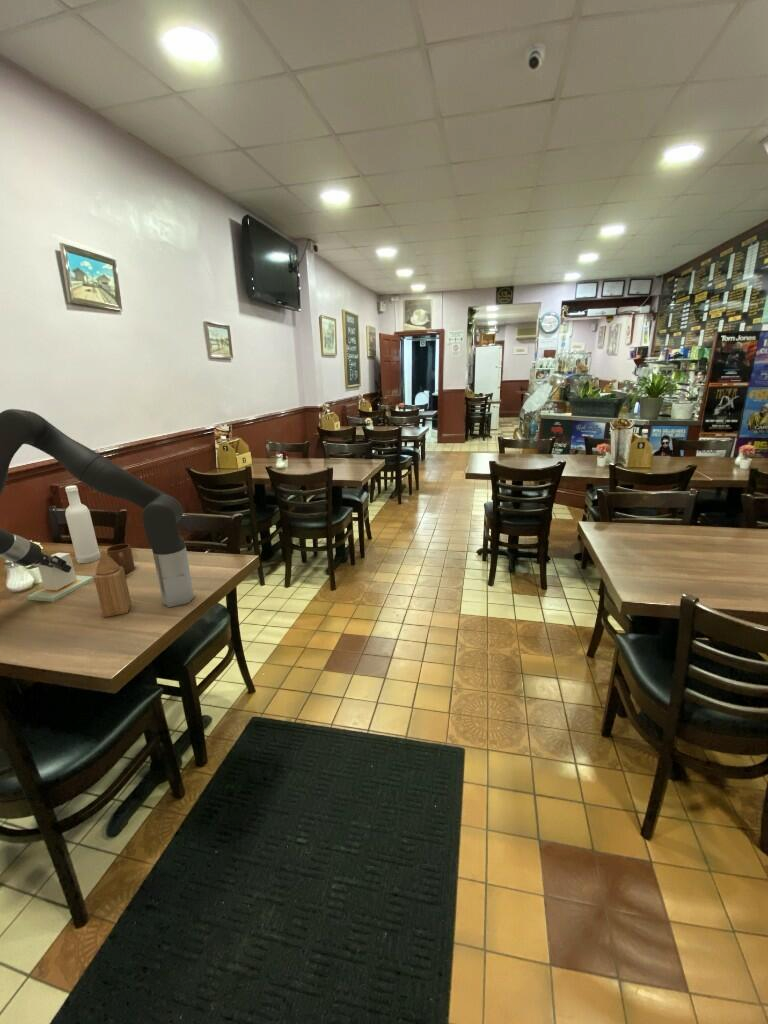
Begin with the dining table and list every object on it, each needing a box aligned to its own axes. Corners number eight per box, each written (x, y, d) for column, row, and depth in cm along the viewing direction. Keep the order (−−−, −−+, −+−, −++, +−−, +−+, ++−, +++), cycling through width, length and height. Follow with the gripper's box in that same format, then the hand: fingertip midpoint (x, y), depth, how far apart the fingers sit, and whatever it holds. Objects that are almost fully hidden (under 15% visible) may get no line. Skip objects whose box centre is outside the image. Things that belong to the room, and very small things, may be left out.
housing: (65, 579, 150) (58, 552, 147) (76, 580, 149) (69, 553, 146) (44, 589, 143) (36, 561, 140) (56, 590, 142) (48, 562, 139)
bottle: (104, 558, 172) (87, 485, 163) (83, 565, 166) (64, 490, 157) (94, 554, 176) (77, 483, 167) (73, 561, 170) (54, 487, 161)
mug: (138, 575, 156) (133, 551, 153) (114, 581, 152) (108, 556, 149) (133, 564, 165) (128, 542, 162) (110, 570, 161) (105, 546, 158)
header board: (71, 577, 155) (67, 565, 154) (94, 579, 153) (91, 566, 152) (27, 599, 141) (23, 585, 139) (52, 601, 139) (48, 587, 137)
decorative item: (108, 607, 134) (93, 547, 128) (132, 603, 136) (118, 544, 130) (103, 618, 128) (87, 556, 122) (128, 613, 130) (114, 552, 124)
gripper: (42, 539, 132) (85, 560, 147) (5, 537, 135) (50, 557, 150) (30, 562, 129) (75, 581, 144) (-8, 559, 132) (40, 578, 147)
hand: (62, 569), depth 147 cm, fingers open, 5 cm apart
